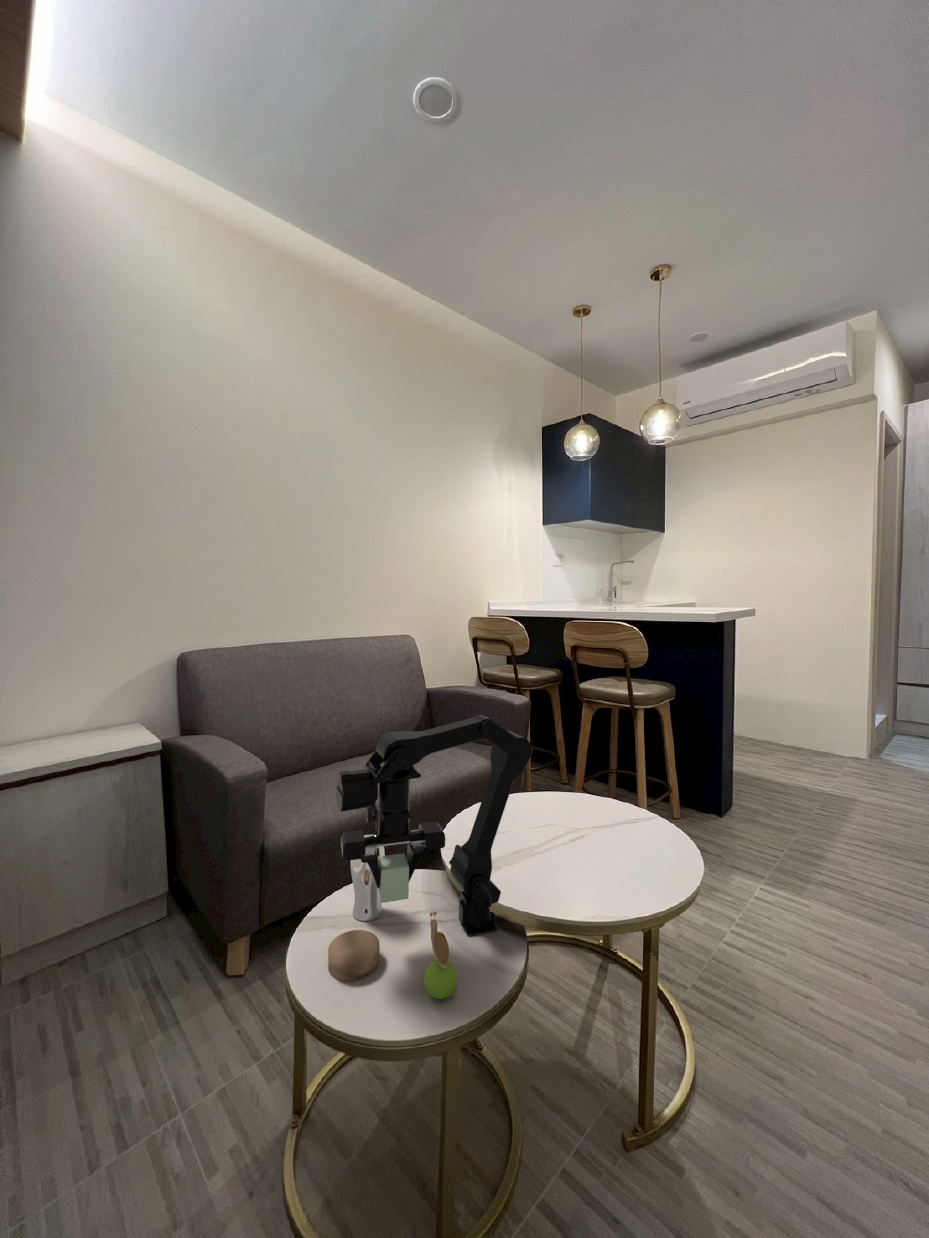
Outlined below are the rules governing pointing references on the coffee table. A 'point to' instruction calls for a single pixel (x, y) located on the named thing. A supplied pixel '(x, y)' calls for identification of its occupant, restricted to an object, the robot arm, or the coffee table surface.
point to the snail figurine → (440, 966)
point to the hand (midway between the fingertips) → (392, 884)
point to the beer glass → (365, 889)
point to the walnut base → (353, 955)
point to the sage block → (393, 878)
